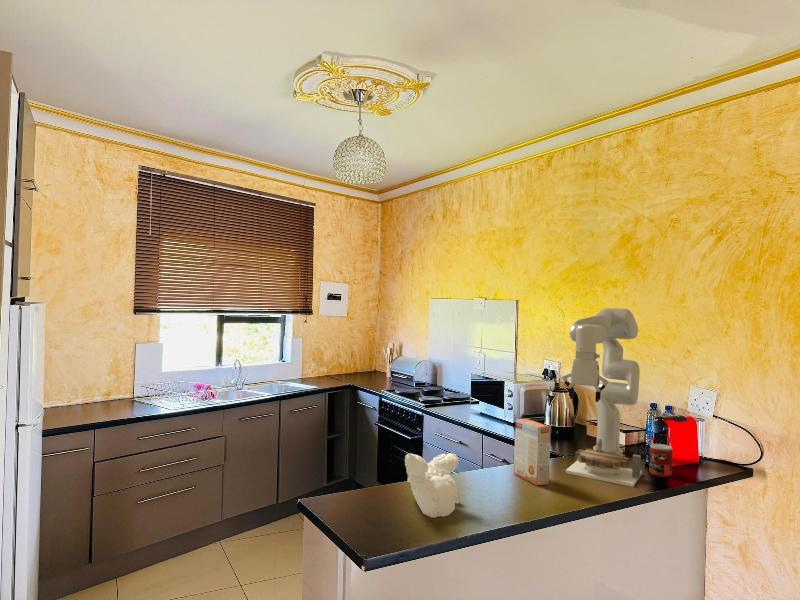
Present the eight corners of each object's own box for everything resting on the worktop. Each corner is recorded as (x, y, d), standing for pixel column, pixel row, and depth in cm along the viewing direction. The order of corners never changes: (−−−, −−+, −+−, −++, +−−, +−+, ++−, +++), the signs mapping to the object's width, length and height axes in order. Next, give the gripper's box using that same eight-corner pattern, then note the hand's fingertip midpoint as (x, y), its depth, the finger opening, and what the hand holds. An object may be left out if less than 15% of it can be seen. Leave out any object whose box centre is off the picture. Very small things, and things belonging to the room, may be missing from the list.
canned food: (644, 471, 200) (645, 444, 200) (660, 470, 202) (661, 443, 203) (660, 478, 193) (660, 449, 193) (676, 476, 195) (677, 448, 195)
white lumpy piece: (434, 495, 139) (405, 442, 154) (409, 542, 147) (383, 487, 162) (486, 489, 149) (454, 439, 164) (459, 533, 157) (431, 482, 172)
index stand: (578, 462, 210) (579, 439, 210) (643, 474, 196) (644, 450, 196) (565, 473, 194) (566, 449, 194) (635, 487, 180) (636, 461, 180)
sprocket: (582, 451, 209) (583, 434, 209) (632, 460, 198) (632, 442, 199) (569, 462, 193) (570, 442, 193) (623, 472, 183) (623, 452, 183)
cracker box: (550, 485, 179) (551, 426, 180) (536, 486, 177) (538, 427, 178) (526, 472, 192) (528, 418, 193) (513, 474, 190) (514, 418, 191)
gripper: (610, 357, 196) (609, 401, 196) (565, 354, 206) (564, 396, 205) (606, 358, 190) (605, 404, 190) (560, 355, 199) (559, 398, 199)
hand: (584, 400), depth 197 cm, fingers open, 9 cm apart
